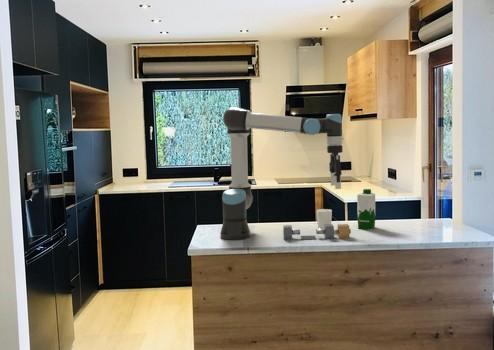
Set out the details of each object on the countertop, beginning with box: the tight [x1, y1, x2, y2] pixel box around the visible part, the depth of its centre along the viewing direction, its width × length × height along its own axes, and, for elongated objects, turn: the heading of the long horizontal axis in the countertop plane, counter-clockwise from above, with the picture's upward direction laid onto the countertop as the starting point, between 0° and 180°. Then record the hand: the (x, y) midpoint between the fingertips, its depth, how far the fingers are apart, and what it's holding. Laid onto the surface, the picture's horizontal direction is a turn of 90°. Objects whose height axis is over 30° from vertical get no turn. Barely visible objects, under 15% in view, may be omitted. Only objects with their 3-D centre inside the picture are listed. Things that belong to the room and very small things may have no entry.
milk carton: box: [356, 188, 376, 230], centre depth 252 cm, size 9×9×20 cm
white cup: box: [316, 208, 333, 229], centre depth 253 cm, size 8×8×10 cm
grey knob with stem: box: [315, 223, 335, 240], centre depth 234 cm, size 8×5×6 cm, turn 87°
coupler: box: [335, 223, 352, 239], centre depth 234 cm, size 7×5×6 cm
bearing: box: [282, 224, 301, 241], centre depth 235 cm, size 8×5×6 cm, turn 87°
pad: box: [300, 235, 317, 241], centre depth 235 cm, size 7×7×1 cm
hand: (335, 187), depth 243 cm, fingers open, 13 cm apart
